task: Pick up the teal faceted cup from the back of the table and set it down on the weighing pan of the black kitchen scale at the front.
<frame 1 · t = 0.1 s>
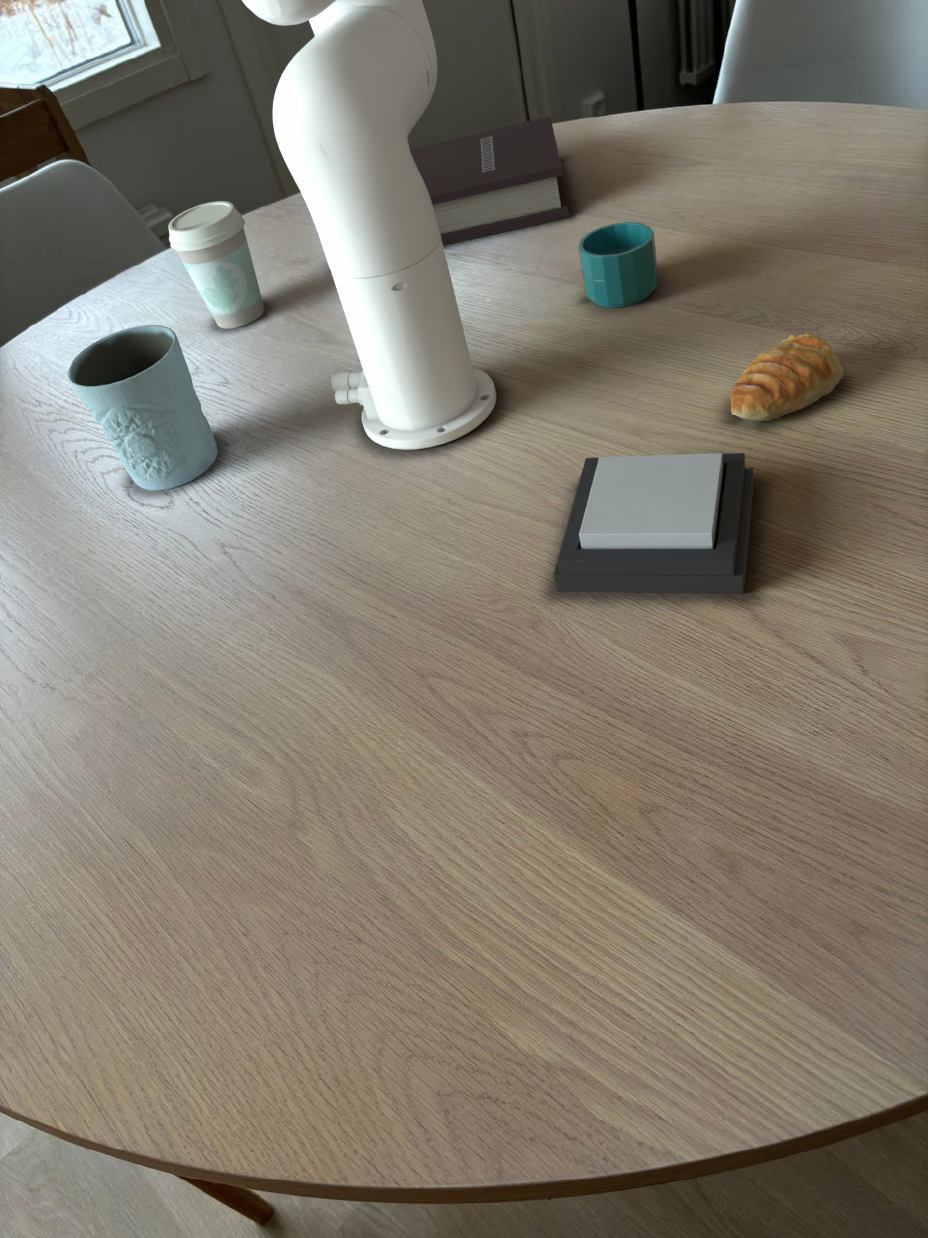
scale: (657, 536, 74), on the table
coffee cup: (241, 317, 118), on the table
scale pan: (653, 501, 72), point 3 cm above the table, slide at 0.0 cm
book: (452, 212, 127), on the table
embossed blue pot: (177, 466, 97), on the table
pastry: (786, 396, 84), on the table
teal faceted cup: (622, 292, 102), on the table
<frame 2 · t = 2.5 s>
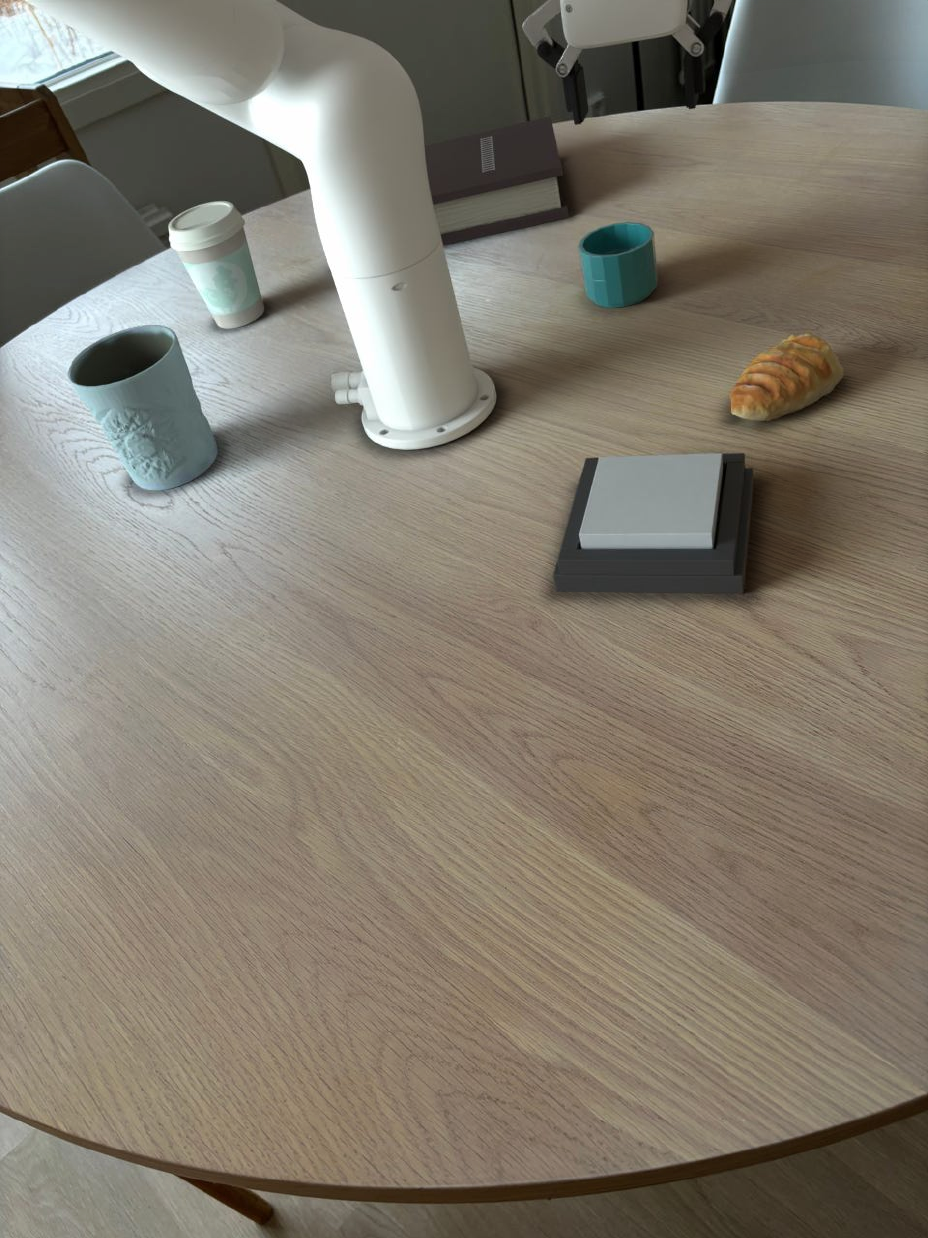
hand: (636, 110, 88), 18 cm above the table, tool pointing down, fingers open, 9 cm apart
nothing on the table moved.
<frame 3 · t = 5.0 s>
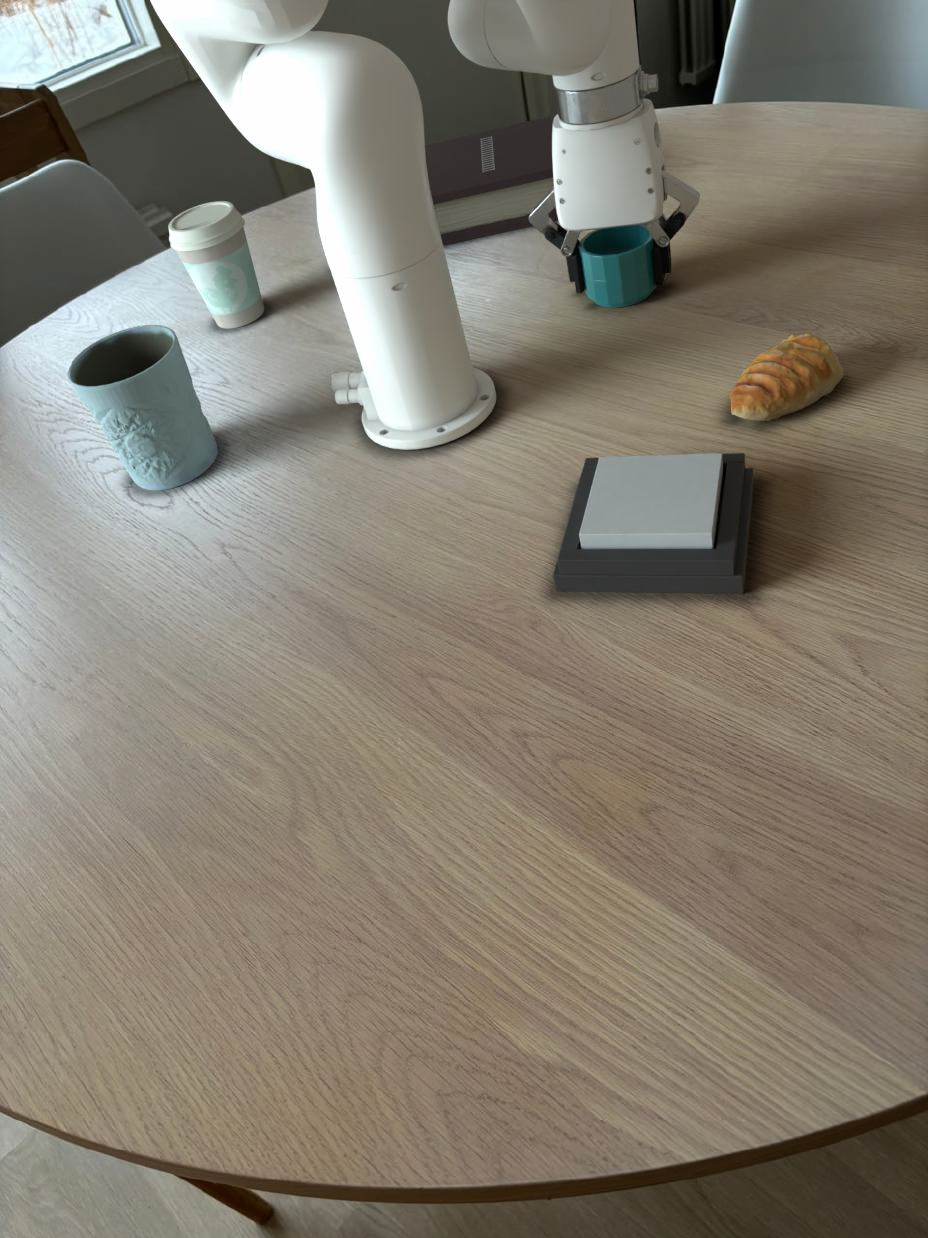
hand: (621, 282, 102), 1 cm above the table, tool pointing down, fingers closed on teal faceted cup, 7 cm apart
teal faceted cup: (622, 292, 102), on the table, touching gripper
everything else where it was.
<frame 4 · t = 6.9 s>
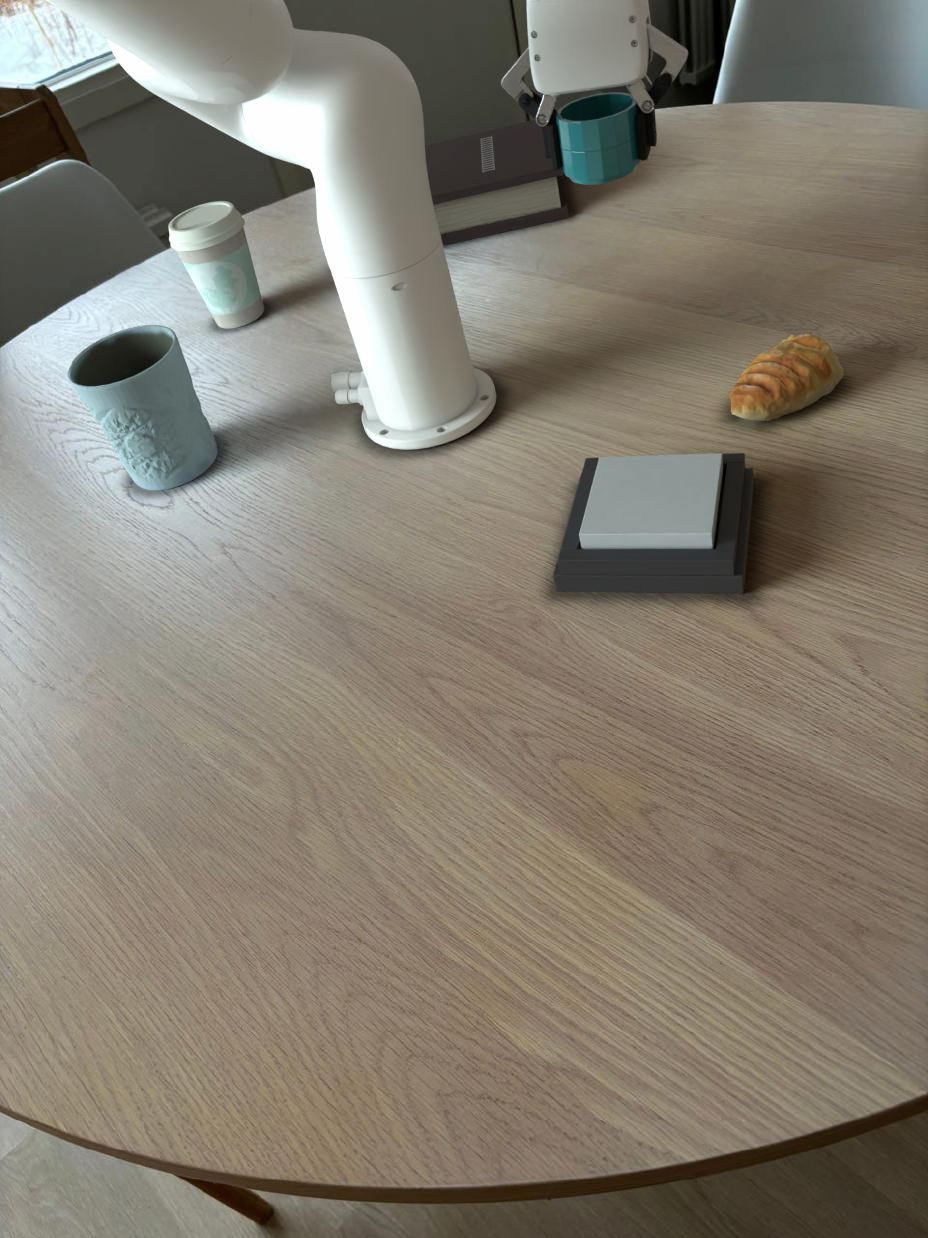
hand: (601, 158, 93), 14 cm above the table, tool pointing down, fingers closed on teal faceted cup, 7 cm apart
teal faceted cup: (603, 170, 94), point 12 cm above the table, touching gripper
everything else where it was.
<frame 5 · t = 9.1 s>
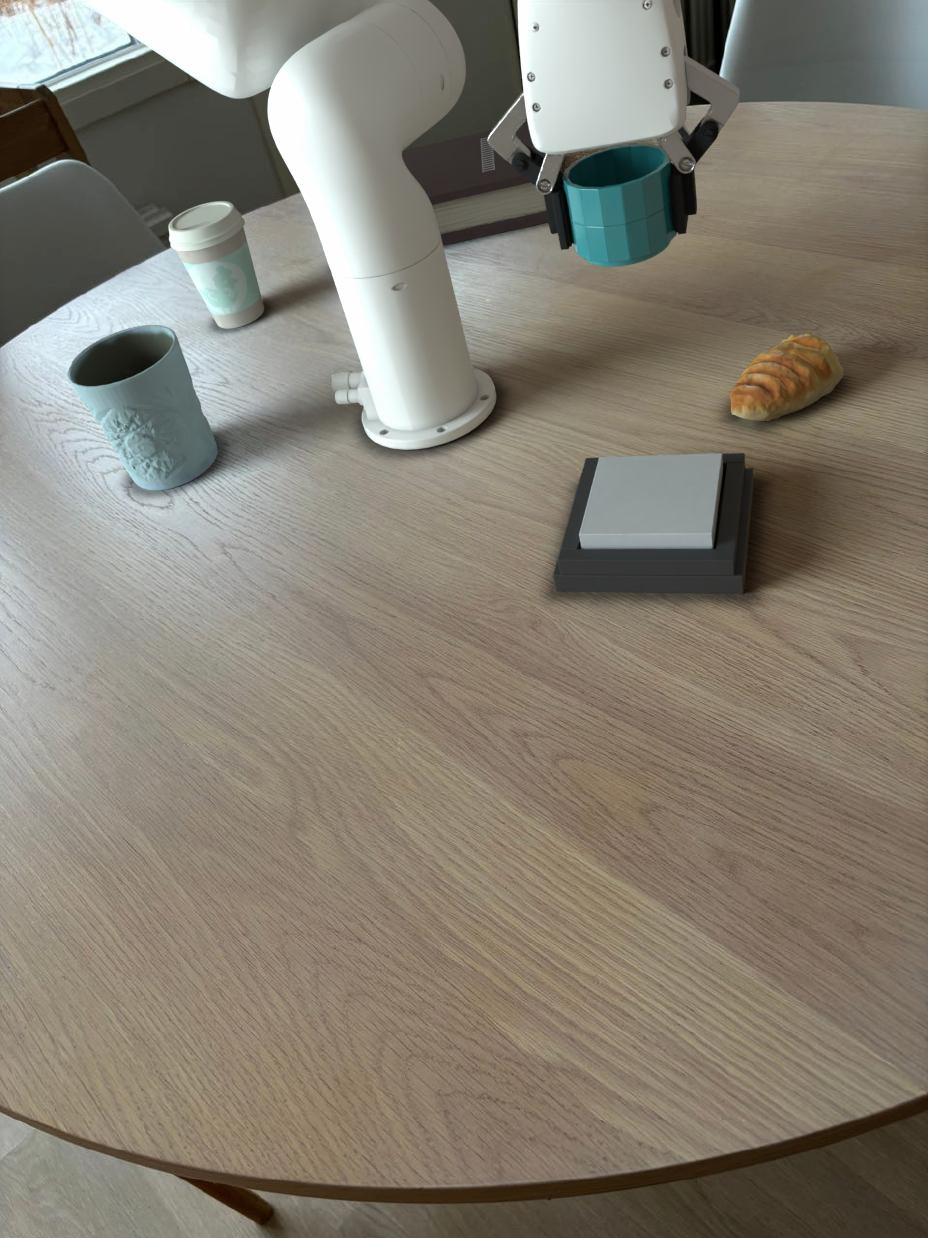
hand: (624, 231, 71), 18 cm above the table, tool pointing down, fingers closed on teal faceted cup, 7 cm apart
teal faceted cup: (626, 245, 71), point 17 cm above the table, touching gripper
everything else where it was.
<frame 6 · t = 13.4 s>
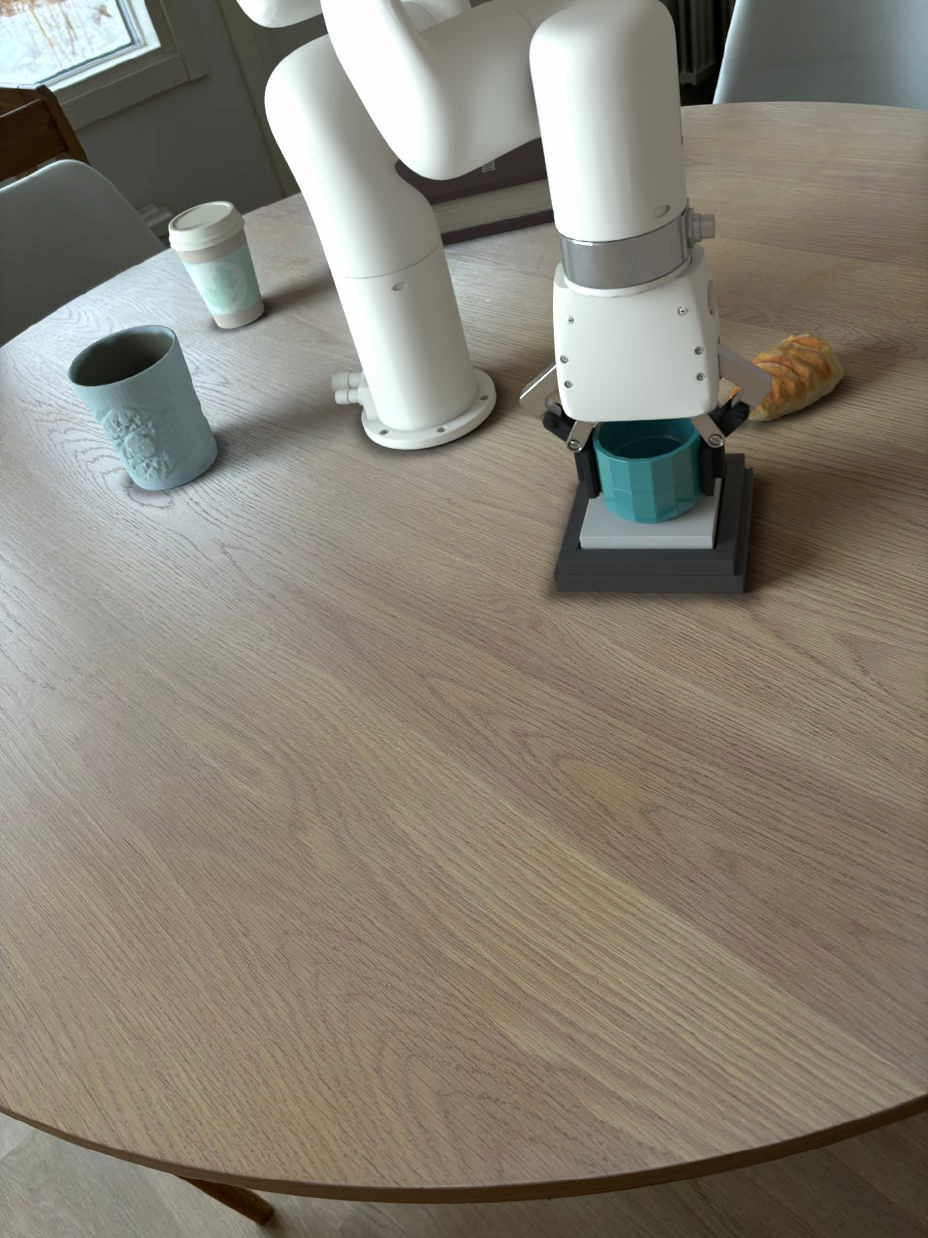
hand: (652, 484, 71), 5 cm above the table, tool pointing down, fingers closed on teal faceted cup, 7 cm apart
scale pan: (653, 504, 72), point 3 cm above the table, slide at -0.2 cm, touching teal faceted cup
teal faceted cup: (653, 495, 72), point 4 cm above the table, touching gripper, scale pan
everything else where it was.
when the fingers open (5 cm above the table, at t = 13.5 s): teal faceted cup stays where it is, resting on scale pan.
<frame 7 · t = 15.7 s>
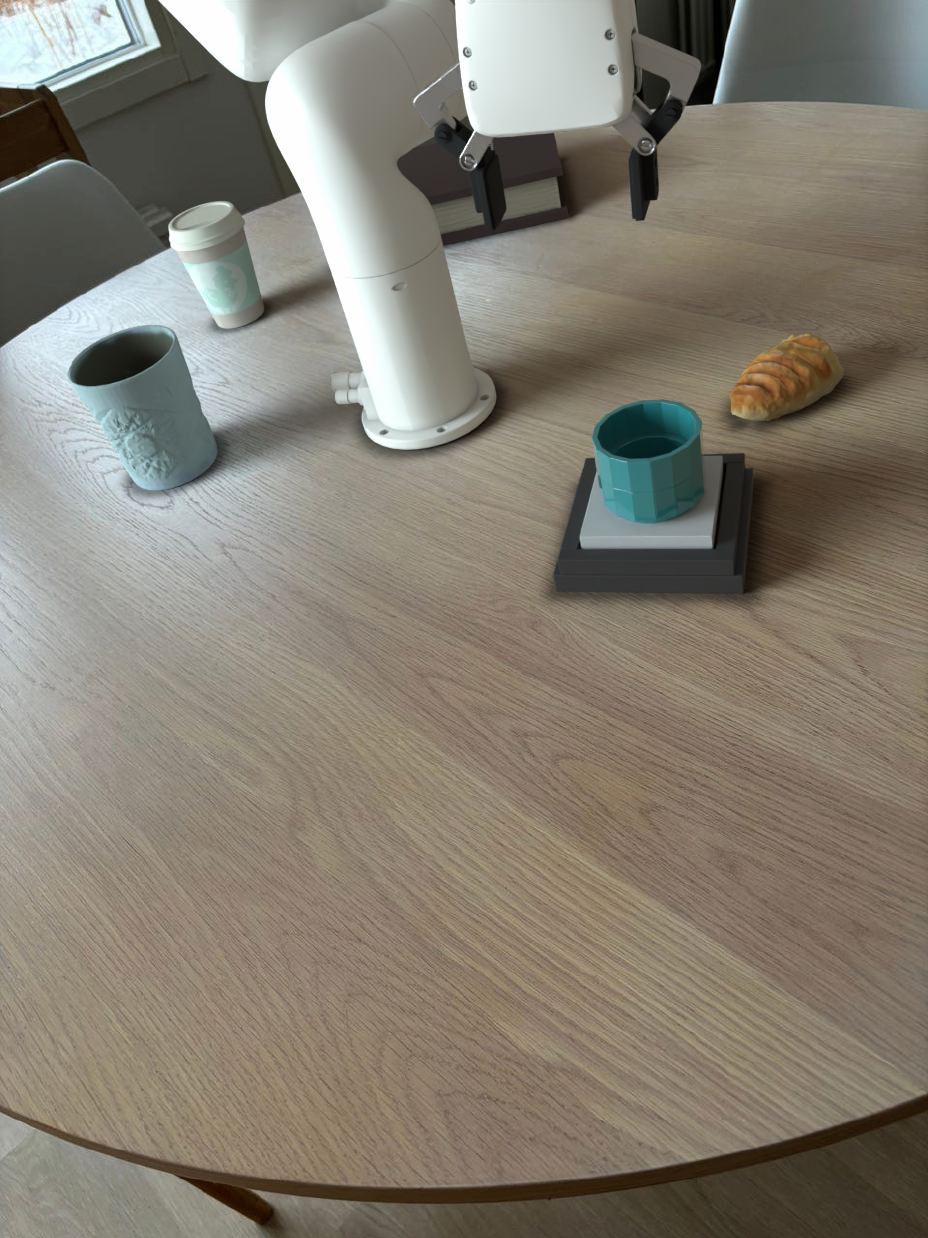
hand: (567, 216, 66), 22 cm above the table, tool pointing down, fingers open, 9 cm apart
teal faceted cup: (653, 495, 72), point 4 cm above the table, touching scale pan
everything else where it was.
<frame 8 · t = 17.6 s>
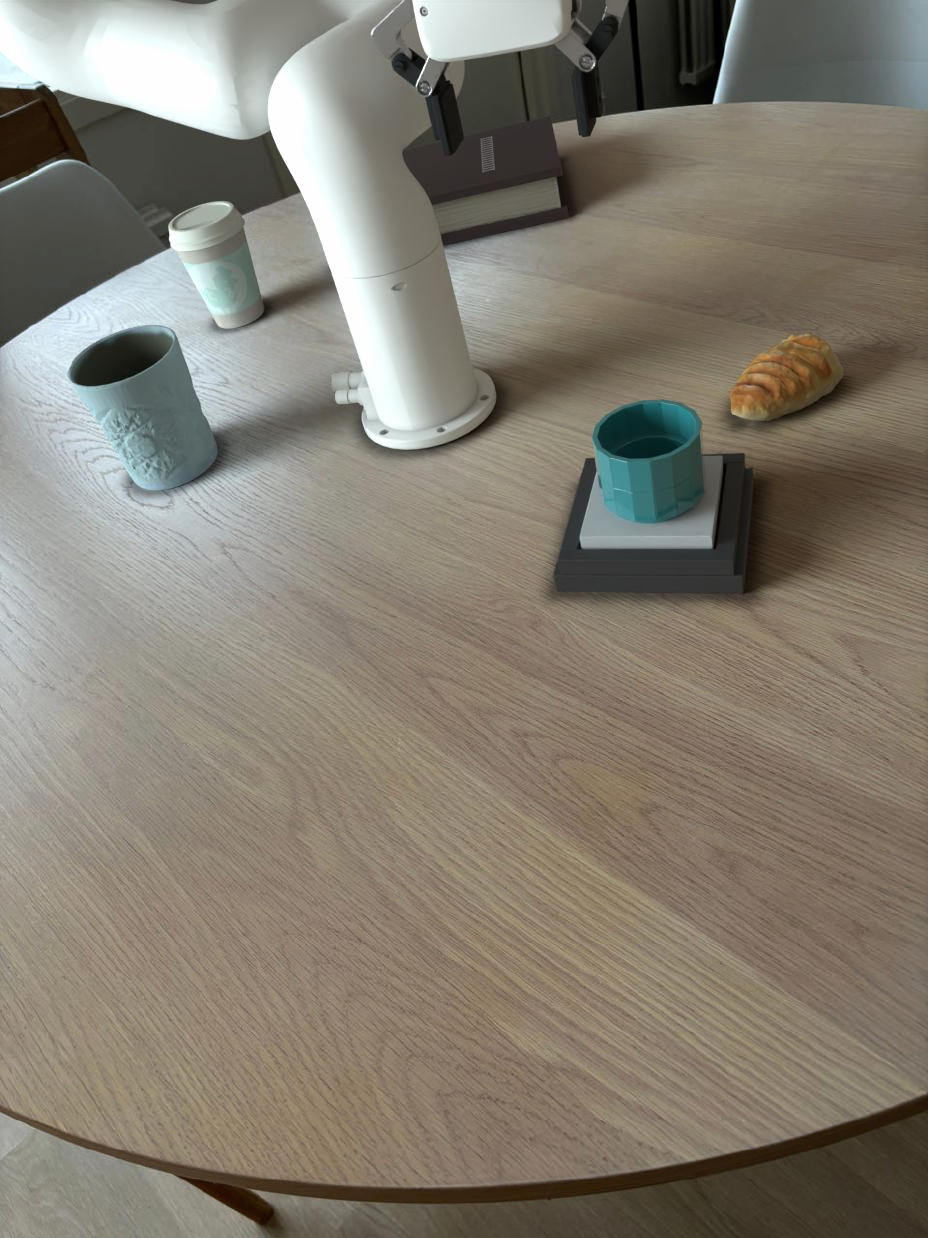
hand: (519, 138, 70), 24 cm above the table, tool pointing down, fingers open, 9 cm apart
nothing on the table moved.
at the end: teal faceted cup 0.1 cm off-centre on the scale, point 3.9 cm above the scale's base; teal faceted cup tilted 0° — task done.
